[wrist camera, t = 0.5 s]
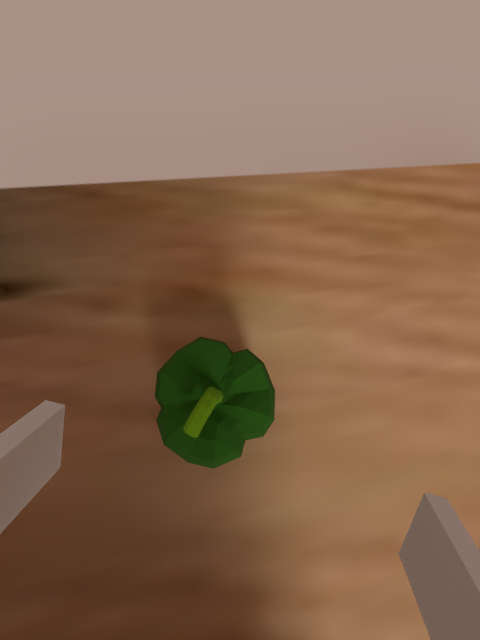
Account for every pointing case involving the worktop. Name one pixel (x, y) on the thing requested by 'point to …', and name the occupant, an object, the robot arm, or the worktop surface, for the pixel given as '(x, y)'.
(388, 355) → the worktop surface
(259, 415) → the bell pepper
